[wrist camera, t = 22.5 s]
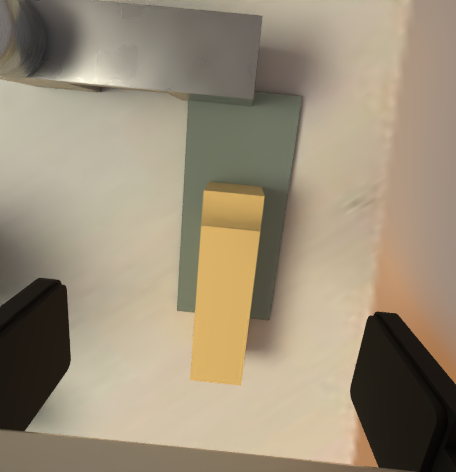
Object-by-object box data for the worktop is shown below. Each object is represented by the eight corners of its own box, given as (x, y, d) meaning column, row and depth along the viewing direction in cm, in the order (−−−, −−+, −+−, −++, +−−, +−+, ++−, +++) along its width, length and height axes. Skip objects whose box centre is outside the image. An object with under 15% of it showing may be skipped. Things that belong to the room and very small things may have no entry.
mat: (190, 86, 25) (189, 85, 24) (301, 96, 25) (302, 96, 24) (177, 308, 30) (177, 310, 30) (269, 317, 30) (269, 320, 30)
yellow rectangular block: (209, 181, 26) (203, 190, 23) (261, 186, 26) (264, 196, 23) (196, 349, 31) (190, 379, 27) (241, 353, 31) (241, 385, 27)
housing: (28, 20, 24) (-126, -58, 14) (257, 42, 24) (268, -22, 14) (33, 88, 25) (-105, 62, 15) (250, 109, 25) (255, 96, 15)
